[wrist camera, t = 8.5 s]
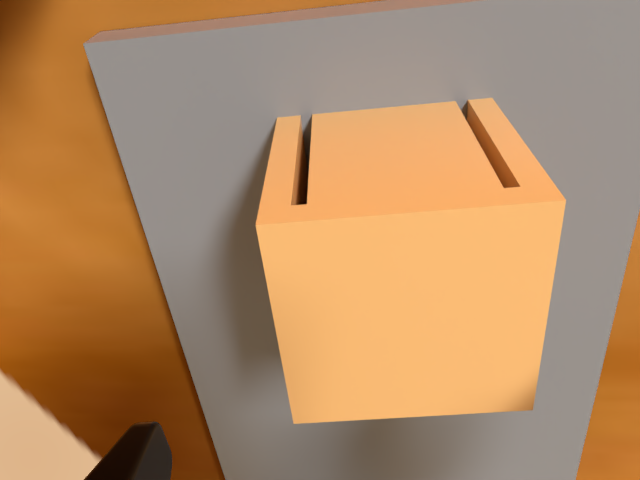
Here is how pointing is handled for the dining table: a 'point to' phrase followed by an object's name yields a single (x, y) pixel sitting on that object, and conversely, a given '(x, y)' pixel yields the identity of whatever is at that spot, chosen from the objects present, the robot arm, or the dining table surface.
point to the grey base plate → (251, 165)
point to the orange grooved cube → (408, 262)
